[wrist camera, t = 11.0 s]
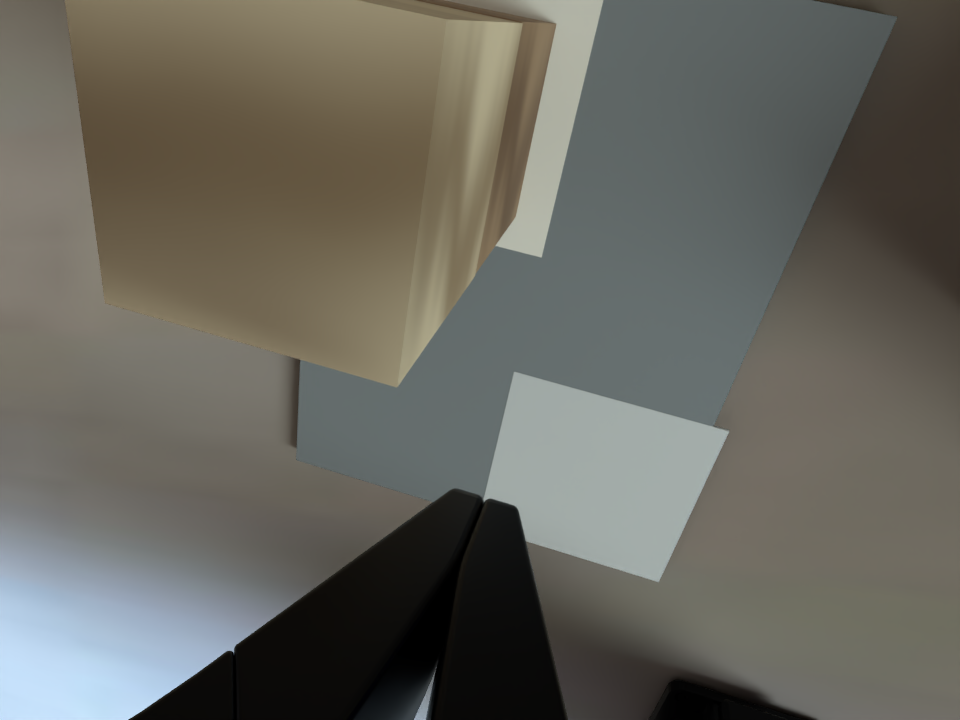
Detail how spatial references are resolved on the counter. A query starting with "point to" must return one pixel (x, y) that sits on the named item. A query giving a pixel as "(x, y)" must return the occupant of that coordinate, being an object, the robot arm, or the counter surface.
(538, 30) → the walnut cube
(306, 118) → the maple cube
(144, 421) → the counter surface
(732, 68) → the mat
